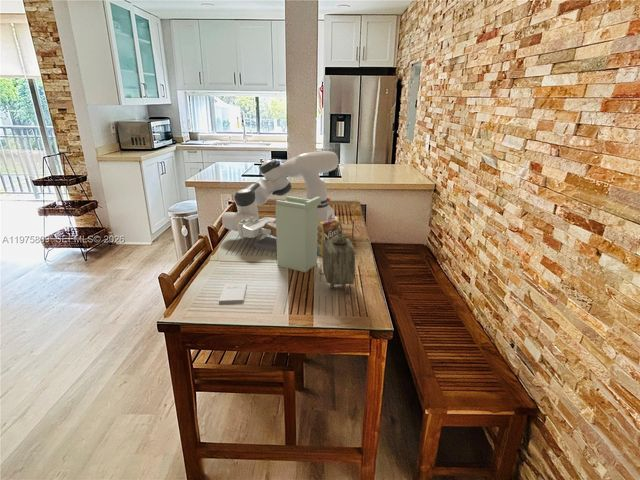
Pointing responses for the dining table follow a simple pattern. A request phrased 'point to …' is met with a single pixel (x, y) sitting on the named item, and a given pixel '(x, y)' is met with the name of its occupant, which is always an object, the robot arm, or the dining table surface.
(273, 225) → the slim box
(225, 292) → the external hard drive
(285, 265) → the shelf block
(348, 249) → the grey-green rolling suitcase
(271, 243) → the grey board
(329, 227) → the candy box
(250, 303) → the dining table surface
